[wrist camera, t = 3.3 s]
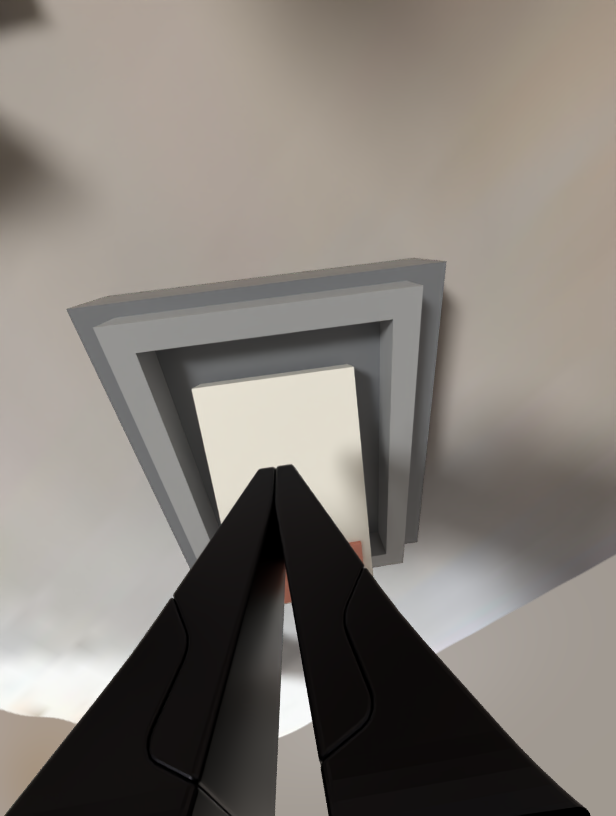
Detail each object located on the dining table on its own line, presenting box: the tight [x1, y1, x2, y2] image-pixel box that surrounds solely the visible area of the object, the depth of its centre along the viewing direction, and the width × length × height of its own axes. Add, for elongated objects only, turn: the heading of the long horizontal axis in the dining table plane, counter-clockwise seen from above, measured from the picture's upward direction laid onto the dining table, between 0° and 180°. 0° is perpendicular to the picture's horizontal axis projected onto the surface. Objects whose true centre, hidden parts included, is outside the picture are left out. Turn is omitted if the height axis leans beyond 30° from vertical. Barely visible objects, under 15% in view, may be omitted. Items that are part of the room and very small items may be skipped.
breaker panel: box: [66, 258, 446, 569], centre depth 16 cm, size 16×14×4 cm
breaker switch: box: [192, 364, 373, 604], centre depth 13 cm, size 10×6×1 cm, turn 6°
